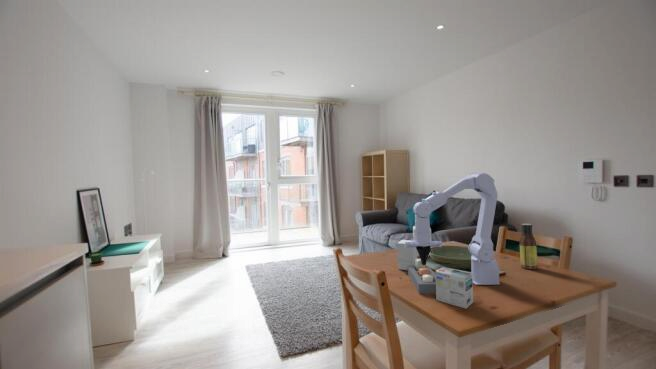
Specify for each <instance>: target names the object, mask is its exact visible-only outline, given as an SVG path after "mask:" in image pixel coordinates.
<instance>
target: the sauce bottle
mask: <svg viewBox="0 0 656 369" xmlns="http://www.w3.org/2000/svg"><path fill="white" fill-rule="evenodd" d="M520 228H521V235H520V237H519V254H520V255H519V256H520V265H521V266H520V267H521V268H522V269H526V270H537V269H538V252H537V242H536V238H535V237H534V235H533V224H532V223H521V227H520Z"/></svg>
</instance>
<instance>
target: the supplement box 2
mask: <svg viewBox="0 0 656 369" xmlns="http://www.w3.org/2000/svg"><path fill="white" fill-rule="evenodd" d="M412 235H413V236H412V237H413V240H412V241H416V237H415V225H412ZM430 241H433V240H432V229H431V227H430ZM430 248H432V249H433V247H430ZM418 257H419V258H420V256H419V253H418V251H417V258H418ZM428 258H430V257H429V255H428Z"/></svg>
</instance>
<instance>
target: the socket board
mask: <svg viewBox="0 0 656 369" xmlns="http://www.w3.org/2000/svg"><path fill="white" fill-rule="evenodd" d="M425 268H427V269H429V275H432V276H433V282H423V276H419V271H416V266H408V270H407V275H408V277H409V278H410V280H411V283H412V284H413V286H414V287H415V289H416V291H417V293H418V294H426V295H427V294H429V295H430V294H432V295H433V294H435V295H436V274H435V272H434V271H433V269H432V268H431V267H430V266H429V265H425Z"/></svg>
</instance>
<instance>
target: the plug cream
mask: <svg viewBox="0 0 656 369" xmlns="http://www.w3.org/2000/svg"><path fill="white" fill-rule="evenodd" d="M423 282H433V276H432V275H428V274H426V275H423Z"/></svg>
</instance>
